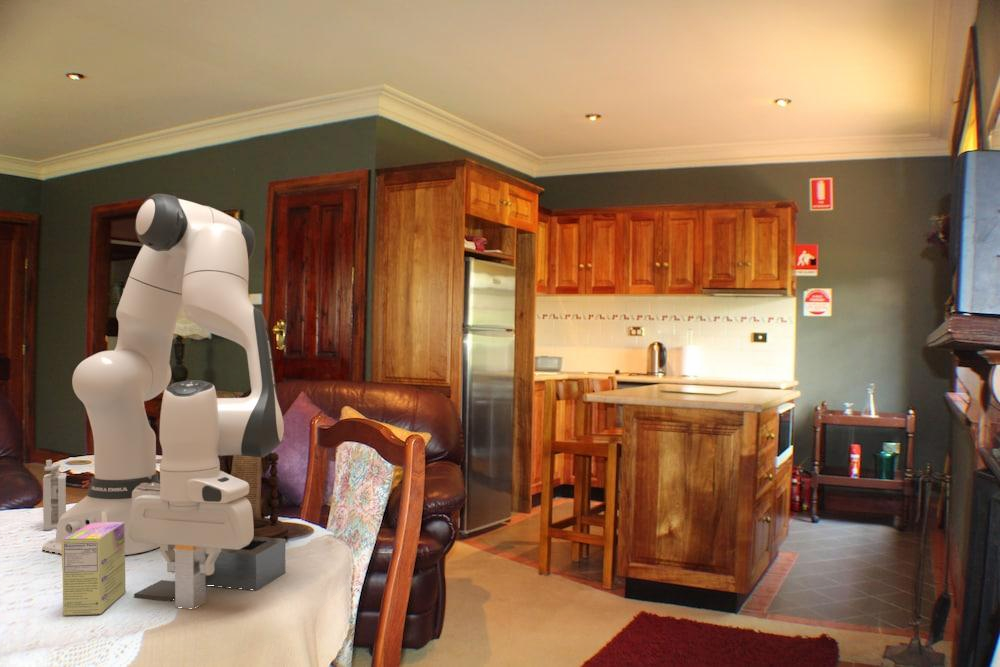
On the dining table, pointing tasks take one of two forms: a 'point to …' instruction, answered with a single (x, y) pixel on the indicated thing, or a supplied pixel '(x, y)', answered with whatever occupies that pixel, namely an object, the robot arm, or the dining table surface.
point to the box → (93, 568)
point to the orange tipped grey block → (189, 576)
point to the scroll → (259, 491)
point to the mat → (158, 591)
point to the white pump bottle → (53, 495)
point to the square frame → (249, 564)
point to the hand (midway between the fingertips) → (190, 572)
